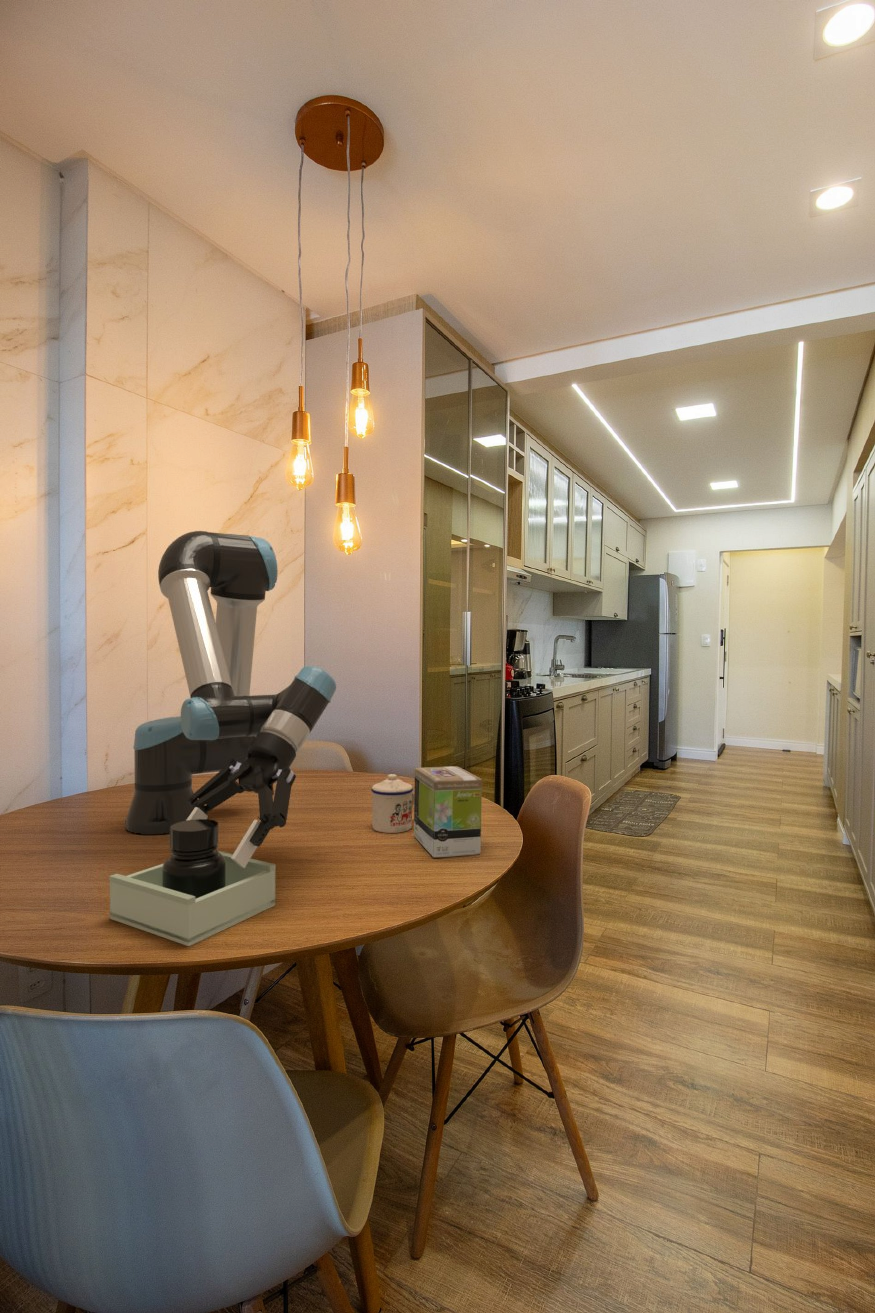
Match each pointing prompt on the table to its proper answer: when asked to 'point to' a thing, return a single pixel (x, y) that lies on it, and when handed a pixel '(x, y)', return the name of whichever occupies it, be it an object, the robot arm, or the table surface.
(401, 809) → the teacup with lid
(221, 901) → the tray
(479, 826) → the tea box
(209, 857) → the ink bottle
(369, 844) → the table surface
